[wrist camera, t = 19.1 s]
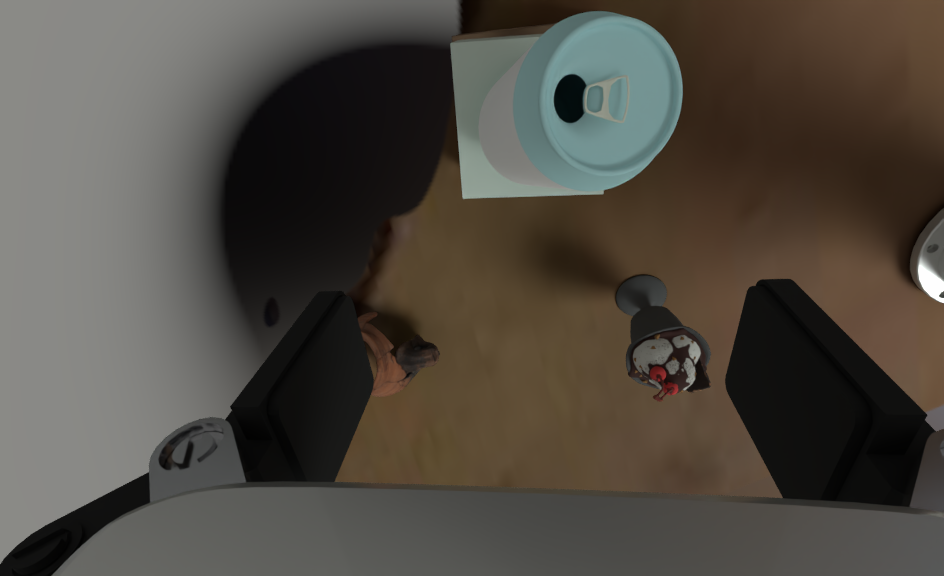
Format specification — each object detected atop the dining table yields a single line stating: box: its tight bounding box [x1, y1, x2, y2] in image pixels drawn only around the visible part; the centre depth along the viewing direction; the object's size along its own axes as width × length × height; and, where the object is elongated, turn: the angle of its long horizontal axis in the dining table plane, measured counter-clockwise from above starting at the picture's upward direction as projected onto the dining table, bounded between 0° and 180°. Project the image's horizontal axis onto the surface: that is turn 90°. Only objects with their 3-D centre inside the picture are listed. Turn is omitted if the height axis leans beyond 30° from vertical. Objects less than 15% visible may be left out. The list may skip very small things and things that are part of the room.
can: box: [478, 11, 683, 191], centre depth 23 cm, size 7×7×12 cm
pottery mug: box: [357, 312, 440, 397], centre depth 50 cm, size 12×9×8 cm
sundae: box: [616, 275, 711, 402], centre depth 40 cm, size 7×7×15 cm
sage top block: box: [450, 34, 604, 199], centre depth 32 cm, size 10×10×4 cm
